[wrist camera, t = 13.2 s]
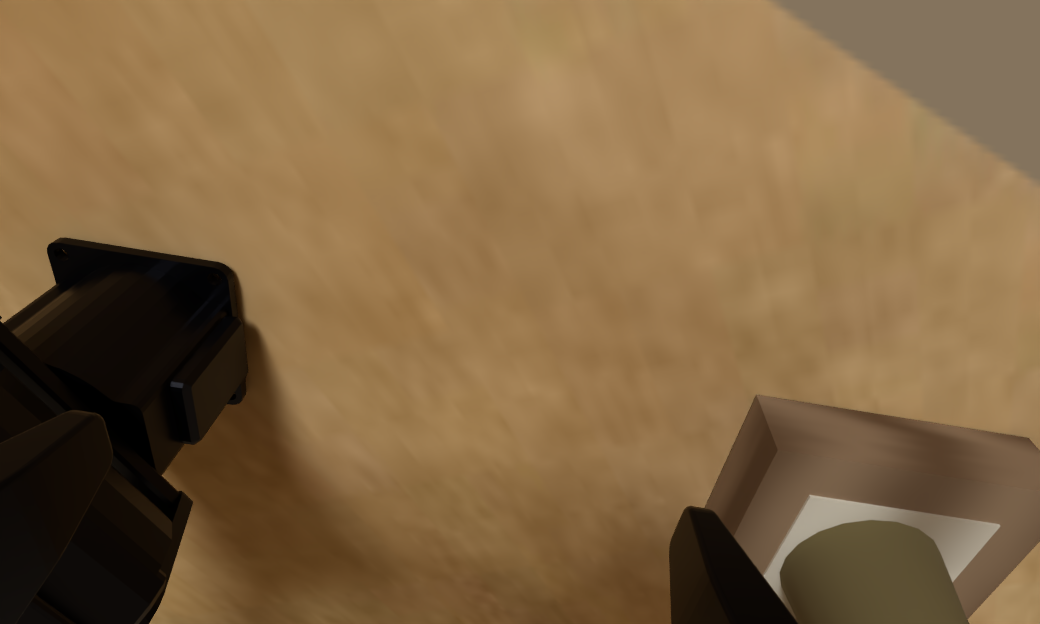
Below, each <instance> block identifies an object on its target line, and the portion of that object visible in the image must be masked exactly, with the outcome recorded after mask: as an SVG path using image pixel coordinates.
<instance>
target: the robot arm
mask: <svg viewBox="0 0 1040 624" xmlns="http://www.w3.org/2000/svg"><path fill="white" fill-rule="evenodd" d="M63 250H64V251H65V252H66V253H67V254H68V255H66V254H65V253H64V252H63ZM47 253H48V257H49V260H50V264H51V267H52V271H53V274H54V277H55V281H56V285H55V286H54V287H52V288H51V289H50V290H48V291H47V292H45V293H44V294H43V295H41V296H40V297H39V298H37V299H36V300H34V301H33V302H32V303H30V304H29V305H28V306H26V307H25V308H23V309H22V310H21V311H19V312H18V313H17V314H15V315H14V316H12V317H11V318H10V319H8V320H7V321H6V322H4V323H2V322H1V321H0V624H149V623H150V621H151V619H152V618H153V616H154V614H155V613H156V611H157V609H158V607H159V605H160V603H161V600H162V598H163V596H164V593H165V590H166V587H167V583H168V580H169V577H170V574H171V571H172V568H173V564H174V561H175V558H176V555H177V552H178V549H179V546H180V542H181V539H182V536H183V533H184V530H185V527H186V523H187V520H188V517H189V514H190V511H191V508H192V504H193V501H192V500H191V499H190V498H189V497H188V496H187V495H186V494H185V493H184V492H182V491H177V490H176V489H175V488H174V487H173V486H172V485H171V484H170V483H169V482H168V481H167V480H166V479H164V478H163V477H162V474H163V473H164V472H165V470H166V469H167V467H168V466H169V465H170V463H171V462H172V460H173V459H174V458H175V456H176V455H177V454H178V452H179V451H180V449H181V448H182V447H183V445H184V444H192V445H195V444H196V443H198V442H199V441H200V440H202V438H203V437H204V435H205V434H206V433H207V431H208V430H209V428H210V427H211V425H212V424H213V423H214V421H215V420H216V418H217V417H218V415H219V414H220V412H221V411H222V410H223V408H224V407H225V405H226V404H232V405H236V404H238V403H240V402H241V401H242V399H243V398H244V396H245V395H246V383H245V377H246V375H247V373H248V364H247V355H246V346H245V337H244V328H243V323H242V321H241V320H240V318H239V317H238V313H237V304H236V295H235V286H234V278H233V274H232V271H231V270H230V269H229V267H227V266H226V265H224V264H222V263H219V262H214V261H208V260H202V259H195V258H189V257H183V256H177V255H171V254H164V253H158V252H152V251H146V250H139V249H133V248H127V247H121V246H114V245H108V244H102V243H96V242H90V241H83V240H77V239H71V238H59V239H57V240H55V241H54V242H52V243H51V244H49V245H48V247H47ZM213 273H214V274H217V275H218V276H219V277H220V278H221V280H219V279H217V278H215V277H214V275H213ZM1 318H2V317H1V316H0V319H1ZM234 393H235V394H234ZM669 564H670V596H671V624H799V623H798V622H797V620H796V619H795V618H794V616H793V615H792V614H791V612H790V611H789V610H788V608H787V607H786V606H785V604H784V603H783V602H782V600H781V599H780V598H779V596H778V595H777V594H776V592H775V591H774V590H773V588H772V587H771V586H770V584H769V583H768V582H767V580H766V579H765V578H764V576H763V575H762V574H761V572H760V571H759V570H758V568H757V567H756V566H755V564H754V563H753V562H752V560H751V559H750V558H749V556H748V555H747V554H746V552H745V551H744V550H743V548H742V547H741V546H740V544H739V543H738V542H737V540H736V539H735V538H734V536H733V535H732V534H731V532H730V531H729V530H728V528H727V527H726V526H725V524H724V523H723V522H722V520H721V519H720V518H719V516H718V515H717V514H716V513H715V512H714V511H713V510H711V509H707V508H700V507H694V506H688V507H686V508H685V509H684V511H683V513H682V515H681V518H680V520H679V522H678V525H677V527H676V529H675V531H674V534H673V536H672V539H671V542H670V548H669Z"/></svg>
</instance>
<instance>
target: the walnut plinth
mask: <svg viewBox="0 0 1040 624" xmlns="http://www.w3.org/2000/svg"><path fill="white" fill-rule="evenodd" d="M705 508H707V509H711V510H713V511H714V512H715V513H716V514H717V515H718V516H719V518H720V519H721V520H722V522H723V523H724V524H725V526H726V527H727V528H728V530H729V531H730V532H731V534H732V535H733V536H734V538H735V539H736V540H737V542H738V543H739V544H740V546H741V547H742V548H743V550H744V551H745V552H746V554H747V555H748V556H749V558H750V559H751V560H752V562H753V563H754V564H755V566H756V567H757V568H758V570H759V571H760V572H761V574H762V575H763V576H764V578H765V579H766V580H767V582H768V583H769V584H770V586H771V587H772V588H773V590H774V591H775V592H776V594H777V595H778V596H779V598H780V599H781V600H782V602H783V603H784V604H785V606H786V607H787V608H788V610H789V611H790V612H791V614H792V615H793V616H794V618H795V619H796V617H795V614H794V612H793V610H792V608H791V606H790V604H789V602H788V600H787V598H786V596H785V593H784V591H783V589H782V587H781V580H780V570H781V568H782V565H783V563H784V560H785V558H786V557H787V556H788V555H789V553H790V552H791V551H792V550H793V549H794V548H795V547H796V546H797V545H798V544H799V543H801V542H802V541H804V540H806V539H807V538H809V537H811V536H812V535H814V534H816V533H818V532H819V531H822V530H825V529H828V528H831V527H834V526H837V525H840V524H843V523H850V522H858V521H866V520H879V521H893V522H899V523H902V524H905V525H908V526H912V527H915V528H918V529H919V530H921V531H922V532H924V533H925V534H926V535H928V536H929V537H930V538H932V539H933V540H934V542H935V543H936V545H937V547H938V549H939V551H940V553H941V555H942V558H943V560H944V563H945V565H946V568H947V570H948V573H949V575H950V578H951V580H952V583H953V585H954V588H955V590H956V593H957V595H958V598H959V600H960V603H961V605H962V607H963V610H964V612H965V615H966V617H967V619H968V618H969V617H970V616H971V615H972V614H973V613H974V612H975V611H976V610H977V609H978V607H979V606H980V605H981V604H982V603H983V602H984V601H985V600H986V599H987V598H988V597H989V596H990V594H991V593H992V592H993V591H994V590H995V589H996V588H997V587H998V586H999V585H1000V584H1001V583H1002V582H1003V580H1004V579H1005V578H1006V577H1007V576H1008V575H1009V574H1010V573H1011V572H1012V571H1013V570H1014V569H1015V568H1016V566H1017V565H1018V564H1019V563H1020V562H1021V561H1022V560H1023V559H1024V558H1025V557H1026V556H1027V555H1028V553H1029V552H1030V551H1031V550H1032V549H1033V548H1034V547H1035V546H1036V545H1037V544H1038V543H1039V542H1040V451H1039V449H1038V448H1037V447H1036V446H1035V445H1034V444H1033V443H1032V441H1031V440H1030V439H1029V438H1024V437H1018V436H1012V435H1006V434H999V433H993V432H987V431H980V430H974V429H968V428H961V427H955V426H949V425H943V424H936V423H930V422H924V421H917V420H911V419H905V418H898V417H892V416H886V415H880V414H873V413H867V412H861V411H854V410H848V409H842V408H835V407H829V406H823V405H817V404H810V403H804V402H798V401H791V400H785V399H779V398H772V397H766V396H760V395H756V397H755V399H754V402H753V404H752V406H751V408H750V410H749V412H748V415H747V417H746V419H745V421H744V423H743V426H742V428H741V430H740V432H739V434H738V436H737V439H736V441H735V443H734V445H733V447H732V450H731V452H730V454H729V456H728V458H727V461H726V463H725V465H724V467H723V469H722V471H721V474H720V476H719V478H718V480H717V482H716V485H715V487H714V489H713V491H712V493H711V496H710V498H709V500H708V502H707V504H706V506H705ZM796 620H797V619H796ZM797 622H798V621H797Z"/></svg>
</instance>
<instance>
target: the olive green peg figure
mask: <svg viewBox="0 0 1040 624" xmlns="http://www.w3.org/2000/svg"><path fill="white" fill-rule="evenodd" d="M780 580H781V587H782V589H783V591H784V593H785V596H786V598H787V600H788V602H789V604H790V606H791V608H792V610H793V612H794V614H795V617H796V619H797V621H798V623H799V624H969V622H968V620H967V617H966V615H965V612H964V610H963V607H962V605H961V603H960V600H959V598H958V595H957V593H956V590H955V588H954V585H953V583H952V580H951V578H950V575H949V573H948V570H947V568H946V565H945V563H944V560H943V558H942V555H941V553H940V551H939V549H938V547H937V545H936V543H935V542H934V540H933V539H932V538H930V537H929V536H928V535H926V534H925V533H924V532H922V531H921V530H919V529H918V528H915V527H912V526H908V525H905V524H902V523H899V522H893V521H879V520H866V521H858V522H850V523H843V524H840V525H837V526H834V527H831V528H828V529H825V530H822V531H819V532H818V533H816V534H814V535H812V536H811V537H809V538H807V539H806V540H804V541H802V542H801V543H799V544H798V545H797V546H796V547H795V548H794V549H793V550H792V551H791V552H790V553H789V555H788V556H787V557H786V558H785V560H784V563H783V565H782V568H781V570H780Z"/></svg>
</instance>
